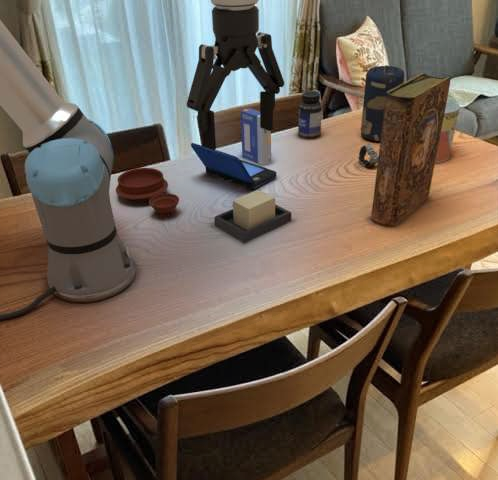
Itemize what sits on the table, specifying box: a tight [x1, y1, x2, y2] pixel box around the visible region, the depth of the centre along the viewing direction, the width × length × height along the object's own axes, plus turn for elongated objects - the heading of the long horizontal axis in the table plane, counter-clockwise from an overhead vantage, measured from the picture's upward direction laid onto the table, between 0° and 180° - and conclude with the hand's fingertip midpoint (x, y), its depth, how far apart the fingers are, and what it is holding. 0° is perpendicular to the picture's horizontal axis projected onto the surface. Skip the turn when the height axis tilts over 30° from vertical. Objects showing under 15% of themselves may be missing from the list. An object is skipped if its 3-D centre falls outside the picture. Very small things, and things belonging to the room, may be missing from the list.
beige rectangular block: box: [232, 189, 276, 230], centre depth 109 cm, size 7×5×5 cm
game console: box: [190, 142, 277, 190], centre depth 125 cm, size 16×13×9 cm
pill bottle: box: [297, 90, 323, 140], centre depth 144 cm, size 6×6×11 cm
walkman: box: [239, 107, 272, 166], centre depth 132 cm, size 8×3×12 cm, turn 43°
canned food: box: [435, 99, 461, 164], centre depth 131 cm, size 11×11×12 cm
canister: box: [360, 64, 405, 142], centre depth 139 cm, size 10×10×18 cm
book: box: [370, 72, 452, 228], centre depth 105 cm, size 16×6×25 cm, turn 141°
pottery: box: [115, 167, 180, 218], centre depth 118 cm, size 12×20×4 cm, turn 35°
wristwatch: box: [357, 143, 379, 168], centre depth 130 cm, size 3×5×5 cm
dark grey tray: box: [213, 204, 292, 243], centre depth 110 cm, size 13×10×2 cm
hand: (239, 138), depth 99 cm, fingers open, 13 cm apart
